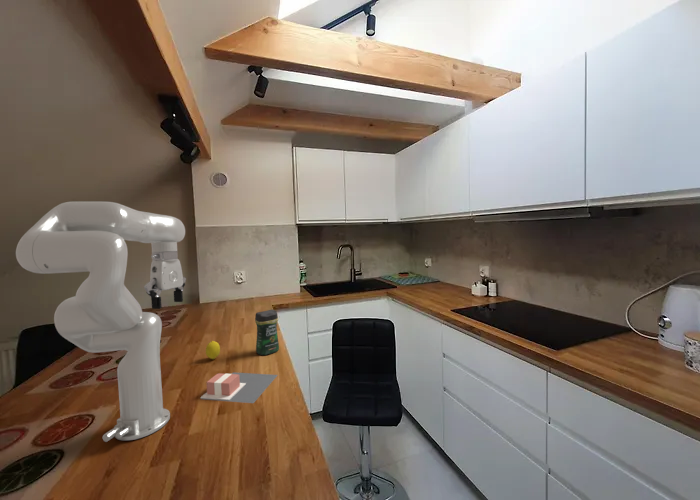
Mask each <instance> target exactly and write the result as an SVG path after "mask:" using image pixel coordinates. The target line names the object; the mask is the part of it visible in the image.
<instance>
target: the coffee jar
mask: <svg viewBox="0 0 700 500" xmlns="http://www.w3.org/2000/svg"><path fill="white" fill-rule="evenodd" d="M254 320H255V321H254V322H255V324H256V342H255V343H256V344H255V352H256V354H257V355H259V356H267V355H271V354H275V353H277V352H278V351H279V350H280V343H279V338H278V328H277V325H278V321H279V316H278V312H277V310H276V309H275V310H274V309H267V310H262V311H259V312H256V313H255V318H254Z"/></svg>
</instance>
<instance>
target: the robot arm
mask: <svg viewBox="0 0 700 500" xmlns="http://www.w3.org/2000/svg"><path fill="white" fill-rule="evenodd" d="M185 236H186V227H185V225H184V223H183V222H182V220H181V219H179V218H177V217H175V216H172V215H166V214H159V213H153V212H149V211H147V212H146V211H140V210H137V209H134V208H131V207H129V206H126V205H123V204H121V203H118V202H115V201H114V202H113V201H67V202H62V203H59V204H58V205H56V206H54V207H52V209H50V210H49V211H48V212H47V213H45V214H44V215H43V216H42V217H41V218H39V220H38V221H37V222H35V223H34V225H33V226H32V227H30V228H29V229H28V230H27V231H26V232H25V233H24V234H23V235H22V236H21V238H20V240H19V241H18V243H17V245H16V249H15V258H16V260H17V262H18V264H19V265H20V266H21V268H22V269H25V270H26V271H28V272H31V273H34V274H42V275H43V274H45V275H46V274H63V273H64V274H65V273H66V274H67V273H84V272H86V273H87V272H89V275H88V277H87V278H86V279H85V280H84V281H83V282H81V284H80V286H79V287H78V289H77V290H76V293H75V296H71V297H69V298H66V299H64V300H63V301H62V302H61V303H60V304H58V306H57V307H56V309H55V312H54V315H53V316H54V317H53V321H54V326H55V329H56V331H57V333H58V334H59V335H60V336H61V337H62V338H64V339H65V340H67V341H68V342H70V343H72V344H74V346H76V347H78V348H79V349H80V350H83V351H85V352H88V353H106V352H115V351H127V352H126V354H125V355H124V356H123V358H122V359H121V360H120V361H119V362H118V365H117V370H116V372H117V385H118V386H117V387H118V399H119V400H118V401H119V414H120V417H118V418H117V419H116V425H114V427H113V428H112V429H110V430H109V431H107V432H105V433H104V434H103V435H102V440H103V442H105V443H107V442H108V441H110V440H111V439H113V438H115V439H117V440H119V441H133V440H139V439H142V438H144V437H147V436H149V435H151V434H154V433H156V432H157V431H159V430H161V429H162V428H163V427H165V425H166V424H168V422H169V420H170V419H171V413H170V411H169V409H167V408H165V407H164V404H163V403H164V401H163V388H162V386H163V385H162V370H161V355H160V354H161V350H160V349H161V347H160V346H161V336H162V329H163V328H162V327H163V323H162V319H161V317H160V316H159V315H158V314H156V313H155V312H151V311H149V312H148V311H143V309H142V307H141V304H140V303H139V301H138V300H137V299H136V298H135V297H134V295H133V294H132V293H131V292H130V291H129V289H128V288H127V287H126V285H125V278H126V273H127V265H128V256H129V253H128V246H127V243H126V241H129V242H139V243H143V244H151V255H150V258H151V265H150V275H149V278H150V279H149V280H150V281H148V282H146V283H145V284H144V286H143V288H144V291H146V294H147V295H148V296H149V298H150V300H151V308H152V310H154V309H155V310H160V309H162V297H161V296H160V295H161V294H162V292H163V291H169V290H172V289H173V290H174V291H173V301H174V303H183V301H184V297H183V291H184V289H185V288H184V287H185V286H186V282H187V281H186V280H187V278H186V277H185V276H184V275H183V270H182V269H183V268H182V264H181V261H180V259H178V257H179V256H178V255H179V254H178V243H180V242H181V241H183V240H184V238H185Z"/></svg>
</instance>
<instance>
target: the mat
mask: <svg viewBox="0 0 700 500" xmlns="http://www.w3.org/2000/svg"><path fill="white" fill-rule="evenodd" d="M231 374H239V378H240V383H246V384H245V385H244V386H243V387H242V388H241V389H240V390H239V391H238V392H237V393H236V394H235V395H234V396H233V397H232V398H231V399H230V400H217V399H204V398H201V400H205V401H207V400H208V401H218V402H219V401H220V402H232V403H244V404H245V403H246V404H254V403H255V402H256V401H257V400H258V399H259V398H260V397H261V395H262V394H263V393H264V392H265V391H266V389H268V387H269V386H271V384H272V383H273V381H274V380H275V379H276V378H277V376H278V374H269V373H267V374H266V373H265V374H264V373H250V372H249V373H248V372H236V371H235V372H232V373H231Z"/></svg>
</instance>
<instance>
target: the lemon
mask: <svg viewBox="0 0 700 500" xmlns="http://www.w3.org/2000/svg"><path fill="white" fill-rule="evenodd" d="M220 353H221V346H220V344H219V342H217V341H215V340H211V341H210V342H208V343H207V345H206V347H205V355H206V357H207V358H208V359H211V360H215V359H216V358H218V357H219V355H220Z"/></svg>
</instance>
